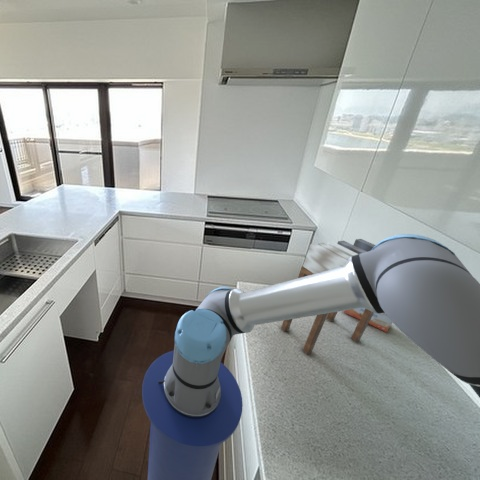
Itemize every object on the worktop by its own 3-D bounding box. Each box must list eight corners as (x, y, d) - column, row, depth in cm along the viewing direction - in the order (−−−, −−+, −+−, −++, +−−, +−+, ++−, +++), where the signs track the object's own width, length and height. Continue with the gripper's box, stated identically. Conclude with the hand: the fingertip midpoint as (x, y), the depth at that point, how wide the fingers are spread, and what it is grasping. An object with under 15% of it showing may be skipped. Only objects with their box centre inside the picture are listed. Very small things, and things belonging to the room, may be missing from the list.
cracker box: (343, 313, 102) (363, 268, 93) (347, 306, 106) (367, 263, 97) (387, 333, 93) (414, 286, 84) (389, 325, 96) (416, 279, 87)
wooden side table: (359, 341, 89) (404, 255, 74) (306, 354, 82) (344, 263, 68) (329, 317, 99) (363, 238, 85) (281, 327, 93) (309, 244, 78)
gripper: (445, 416, 47) (369, 307, 59) (520, 384, 54) (439, 292, 66) (495, 416, 41) (400, 294, 53) (572, 379, 48) (473, 279, 60)
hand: (422, 293), depth 59 cm, fingers open, 13 cm apart
